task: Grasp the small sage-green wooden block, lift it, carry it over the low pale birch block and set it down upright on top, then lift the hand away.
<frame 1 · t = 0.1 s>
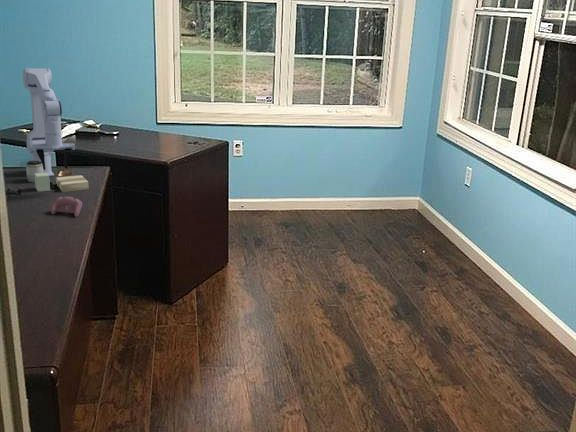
hand: (55, 168, 228), 10 cm above the table, tool pointing down, fingers open, 7 cm apart
birch block: (72, 186, 240), on the table
sage block: (42, 189, 235), on the table
camera lens: (35, 181, 244), on the table
video game controller: (67, 214, 212), on the table
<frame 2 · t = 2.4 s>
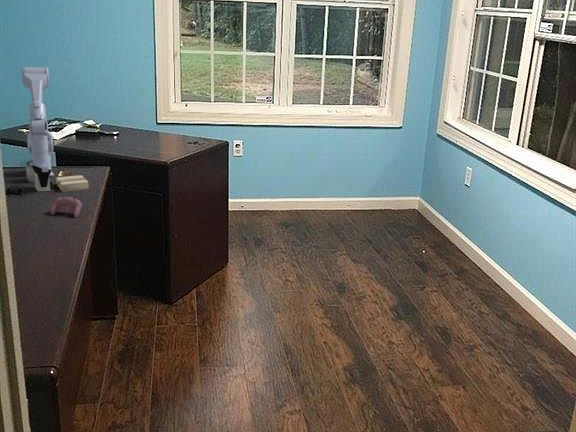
hand: (42, 185, 234), 2 cm above the table, tool pointing down, fingers closed on sage block, 4 cm apart
sage block: (42, 189, 235), on the table, touching gripper
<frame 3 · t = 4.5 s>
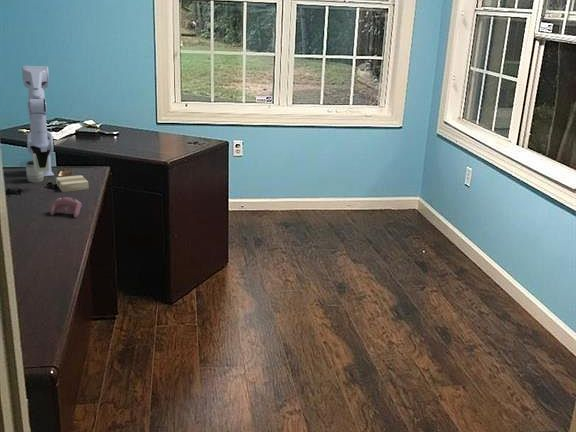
hand: (41, 165, 231), 9 cm above the table, tool pointing down, fingers closed on sage block, 4 cm apart
sage block: (41, 169, 232), point 8 cm above the table, touching gripper
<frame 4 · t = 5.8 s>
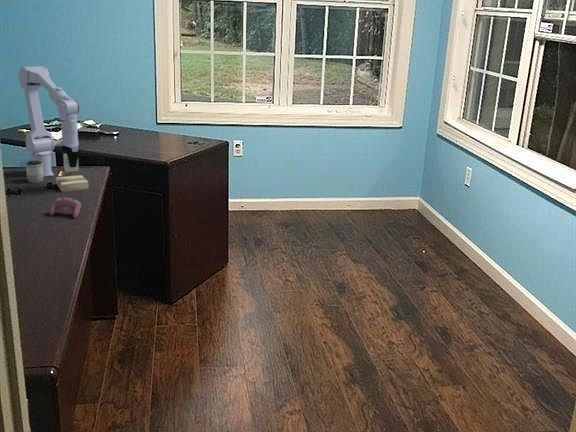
hand: (71, 165, 237), 9 cm above the table, tool pointing down, fingers closed on sage block, 4 cm apart
sage block: (71, 169, 237), point 7 cm above the table, touching gripper
when the fingers open (6 cm above the table, at t = 6.9 s): sage block stays where it is, resting on birch block.
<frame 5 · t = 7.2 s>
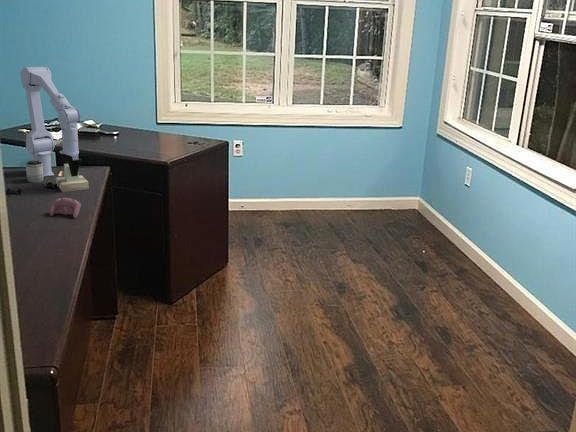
hand: (71, 173, 238), 6 cm above the table, tool pointing down, fingers open, 7 cm apart
sage block: (71, 179, 239), point 3 cm above the table, touching birch block
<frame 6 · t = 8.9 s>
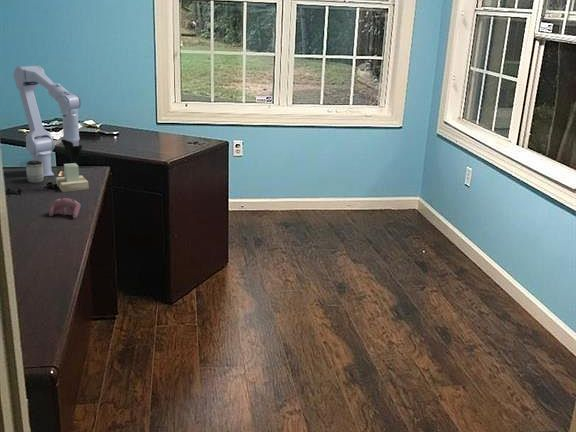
hand: (72, 159, 239), 10 cm above the table, tool pointing down, fingers open, 7 cm apart
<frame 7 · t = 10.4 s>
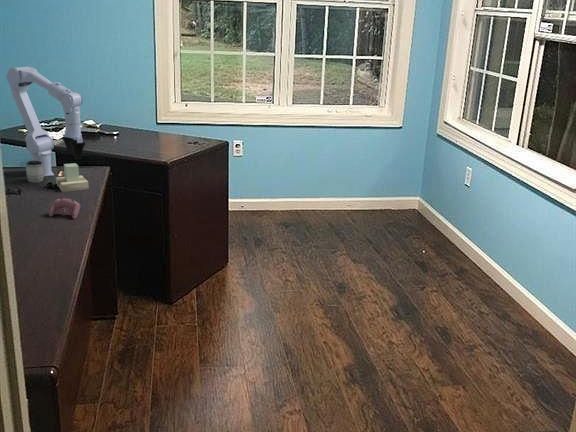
hand: (74, 156, 243), 10 cm above the table, tool pointing down, fingers open, 7 cm apart
at the end: sage block 0.1 cm off-centre on the birch block, point 3.0 cm above the birch block's base; sage block tilted 0°; the gripper is holding nothing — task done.
